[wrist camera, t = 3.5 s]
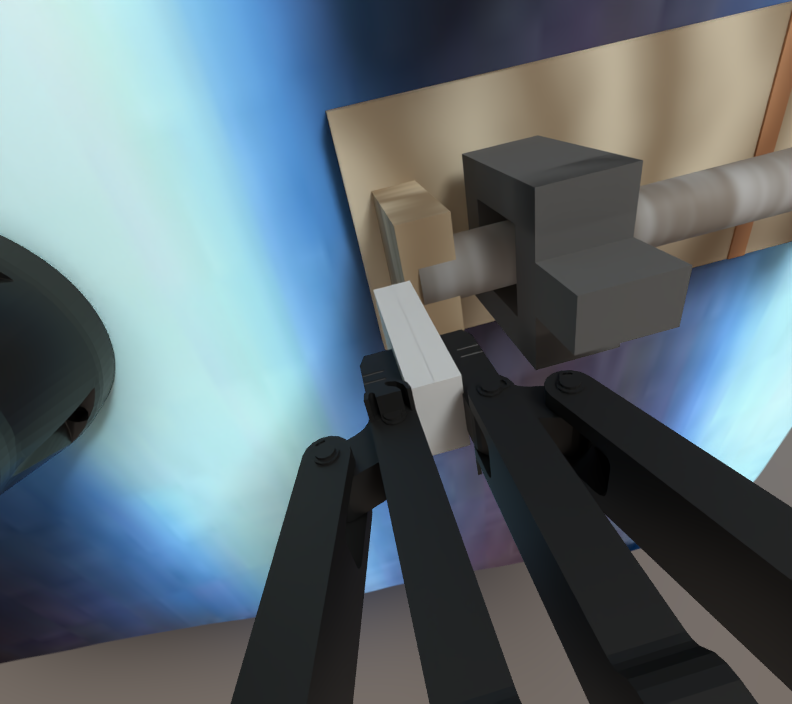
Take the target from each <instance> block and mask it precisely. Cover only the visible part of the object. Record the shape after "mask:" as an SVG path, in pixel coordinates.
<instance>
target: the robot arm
mask: <svg viewBox="0 0 792 704" xmlns="http://www.w3.org/2000/svg"><path fill="white" fill-rule="evenodd" d="M373 291H374V295H375V299H376V304H377V308H378V312H379V316H380V320H381V324H382V328H383V332H384V337H385V341H386V345H387V348H388V350H386V351H382V352H378V353H375V354H371V355H367V356H364V358H363V360H362V363H361V365H360V368H361V373H362V378H363V383H364V387H365V392H366V393H365V394H364V403H365V406H366V409H367V413H368V416H369V422H368V424H367V425H366V427H365V428H364V429H363V430H362V431H361V432H360V433H358V434H357V435H355V436H354V437H352V438H350V439H348V440H346V439H344V438H341V437H339V436H328V437H324V438H321V439H319V440H317V441H315V442H314V443H312V444H311V445H310V446H309V447H308V448H307V449H306V451H305V453H304V455H303V456H302V460H301V463H300V467H299V470H298V474H297V477H296V480H295V484H294V487H293V491H292V494H291V498H290V501H289V505H288V508H287V511H286V515H285V518H284V522H283V525H282V529H281V532H280V536H279V539H278V542H277V546H276V549H275V553H274V556H273V560H272V563H271V567H270V570H269V573H268V577H267V580H266V584H265V587H264V591H263V594H262V598H261V601H260V605H259V608H258V611H257V615H256V618H255V622H254V625H253V629H252V632H251V636H250V639H249V643H248V646H247V649H246V653H245V657H244V660H243V663H242V667H241V670H240V673H239V677H238V681H237V684H236V687H235V691H234V694H233V698H232V701H231V704H353V696H354V687H355V677H356V667H357V658H358V648H359V638H360V629H361V619H362V608H363V599H364V590H365V580H366V570H367V561H368V551H369V541H370V532H371V522H372V509H373V508H374V507H376V506H377V505H379V504H381V503H382V502H384V501H385V500H387V503H388V508H389V513H390V518H391V522H392V527H393V532H394V537H395V541H396V546H397V551H398V556H399V560H400V565H401V570H402V575H403V579H404V584H405V588H406V594H407V598H408V603H409V608H410V613H411V617H412V622H413V627H414V632H415V637H416V641H417V646H418V651H419V655H420V660H421V665H422V670H423V675H424V679H425V684H426V689H427V693H428V698H429V703H430V704H522V703H521V701H520V699H519V696H518V694H517V691H516V689H515V686H514V683H513V680H512V678H511V675H510V672H509V669H508V666H507V664H506V661H505V658H504V655H503V652H502V649H501V647H500V644H499V641H498V638H497V635H496V633H495V630H494V627H493V624H492V622H491V619H490V616H489V613H488V610H487V607H486V605H485V602H484V599H483V597H482V593H481V591H480V588H479V585H478V582H477V580H476V577H475V574H474V571H473V568H472V565H471V562H470V560H469V557H468V554H467V551H466V548H465V546H464V543H463V540H462V537H461V534H460V532H459V529H458V526H457V523H456V520H455V518H454V515H453V512H452V509H451V506H450V504H449V501H448V498H447V495H446V492H445V490H444V487H443V484H442V481H441V478H440V475H439V473H438V470H437V467H436V464H435V461H434V459H433V455H436V454H440V453H443V452H447V451H450V450H454V449H457V448H461V447H464V446H468V445H470V438H469V435H470V437H471V439H472V441H473V443H474V447H475V455H476V463H477V471H478V475H480V474H482V472H483V474H484V476H485V478H486V480H487V482H488V485H489V487H490V489H491V491H492V493H493V495H494V498H495V500H496V502H497V504H498V506H499V508H500V511H501V513H502V515H503V517H504V519H505V521H506V524H507V526H508V528H509V530H510V532H511V534H512V537H513V539H514V541H515V543H516V545H517V547H518V550H519V552H520V554H521V556H522V558H523V560H524V563H525V565H526V567H527V569H528V571H529V573H530V576H531V578H532V580H533V582H534V584H535V586H536V588H537V591H538V593H539V595H540V597H541V600H542V601H543V604H544V606H545V608H546V610H547V613H548V615H549V617H550V619H551V621H552V623H553V626H554V628H555V630H556V632H557V634H558V636H559V638H560V640H561V643H562V645H563V647H564V649H565V652H566V654H567V656H568V658H569V660H570V662H571V664H572V666H573V669H574V671H575V673H576V675H577V677H578V680H579V682H580V684H581V686H582V688H583V691H584V693H585V695H586V697H587V699H588V701H589V703H590V704H758V703H757V702H756V700H755V699H754V697H753V696H752V695H751V693H750V692H749V690H748V689H747V688H746V687H745V685H744V684H743V682H742V681H741V680H740V678H739V677H738V676H737V675H736V674H735V672H734V671H733V670H732V669H731V667H730V666H729V665H728V664H727V663H726V662H725V661H724V660H723V659H722V658H721V657H719V656H718V655H717V654H716V653H715V652H713V651H710V650H708V649H706V648H704V647H701V646H699V645H698V644H697V643H696V642H695V641H694V640H693V639H692V638H691V637H690V636H689V634H688V633H687V632H686V630H685V629H684V628H683V626H682V625H681V623H680V622H679V621H678V619H677V617H676V616H675V615H674V613H673V612H672V610H671V609H670V607H669V606H668V605H667V603H666V602H665V600H664V599H663V597H662V596H661V595H660V593H659V592H658V590H657V589H656V587H655V586H654V584H653V583H652V582H651V580H650V579H649V577H648V576H647V574H646V573H645V572H644V570H643V569H642V567H641V566H640V565H639V563H638V561H637V560H636V559H635V557H634V556H633V554H632V553H631V551H630V550H629V549H628V547H627V546H626V544H625V543H624V541H623V540H622V539H621V537H620V536H619V534H618V533H617V531H616V530H615V528H614V527H613V526H612V524H611V523H610V521H609V520H608V518H607V517H606V516H605V515H607V516H608V517H609V518H610V519H611V520H612V521H613V522H614V523H615V524H616V525H617V526H618V527H619V528H620V529H621V530H622V531H623V532H624V533H626V534H627V535H628V536H629V537H630V538H631V539H632V540H633V541H634V542H635V543H636V544H637V545H638V546H639V547H640V548H641V549H642V550H644V551H645V552H646V553H647V554H648V555H649V556H650V557H651V558H652V559H653V560H654V561H655V562H656V563H657V564H658V565H659V566H660V567H662V568H663V569H664V570H665V571H666V572H667V573H668V574H669V575H670V576H671V577H672V578H673V579H674V580H675V581H677V583H678V584H679V585H680V586H682V587H683V588H684V589H685V590H686V591H687V592H688V593H689V594H690V595H691V596H692V597H693V598H694V599H695V600H696V601H697V602H698V603H699V604H701V605H702V606H703V607H704V608H705V609H706V610H707V611H708V612H709V613H710V614H711V615H712V616H713V617H714V618H715V619H717V621H719V622H720V623H721V624H722V625H723V626H724V627H725V628H726V629H727V630H728V631H729V632H730V633H731V634H732V635H733V636H734V637H735V638H737V640H739V641H740V642H741V643H742V644H743V645H744V646H745V647H746V648H747V649H748V650H749V651H750V652H751V653H752V654H753V655H754V656H755V657H757V658H758V659H759V660H760V661H761V662H762V663H763V664H764V665H765V666H766V667H767V668H768V669H769V670H770V671H771V672H772V673H773V674H774V675H775V676H777V677H778V678H779V679H780V680H781V681H782V682H783V683H784V684H785V685H786V686H787V687H788V688H789V689H790V690H791V691H792V507H790V506H789V505H787V504H786V503H784V502H782V501H781V500H779V499H778V498H776V497H775V496H773V495H772V494H770V493H769V492H767V491H766V490H764V489H763V488H761V487H759V486H758V485H756V484H755V483H753V482H752V481H750V480H749V479H747V478H746V477H744V476H743V475H741V474H739V473H738V472H736V471H735V470H733V469H732V468H730V467H729V466H727V465H726V464H724V463H722V462H721V461H719V460H718V459H716V458H715V457H713V456H712V455H710V454H709V453H707V452H706V451H704V450H702V449H701V448H699V447H698V446H696V445H695V444H693V443H692V442H690V441H689V440H687V439H686V438H684V437H682V436H681V435H679V434H678V433H676V432H675V431H673V430H672V429H670V428H669V427H667V426H665V425H664V424H662V423H661V422H659V421H658V420H656V419H655V418H653V417H652V416H650V415H649V414H647V413H645V412H644V411H642V410H641V409H639V408H638V407H636V406H635V405H633V404H632V403H630V402H629V401H627V400H625V399H624V398H622V397H621V396H619V395H618V394H616V393H615V392H613V391H612V390H610V389H609V388H607V387H605V386H604V385H602V384H601V383H599V382H598V381H596V380H595V379H593V378H592V377H590V376H588V375H586V374H584V373H582V372H578V371H572V370H567V371H559V372H556V373H553V374H551V375H550V376H549V377H547V379H546V381H545V383H544V386H533V387H524V386H517V385H514V383H513V382H512V381H510V380H509V379H508V378H506V377H503V376H501V375H499V374H498V373H497V371H496V370H495V368H494V367H493V365H492V364H491V363H490V361H489V360H488V358H487V357H486V355H485V354H484V352H482V349H481V348H480V346H479V345H478V343H477V342H476V340H475V339H474V337H473V336H472V335H471V334H469V333H467V332H465V331H464V330H462V329H461V330H457V331H453V332H449V333H446V334H442V335H439V333H438V332H437V330H436V328H435V326H434V324H433V322H432V321H431V319H430V317H429V315H428V313H427V311H426V310H425V308H424V306H423V304H422V302H421V300H420V299H419V297H418V295H417V293H416V291H415V289H414V288H413V286H412V284H411V282H410V281H406V282H402V283H398V284H394V285H390V286H387V287H383V288H379V289H375V290H373ZM113 378H114V355H113V349H112V345H111V342H110V339H109V336H108V334H107V331H106V329H105V327H104V325H103V323H102V321H101V319H100V318H99V316H98V314H97V313H96V311H95V310H94V309H93V307H92V306H91V304H90V303H89V302H88V301H87V299H86V298H85V297H84V296H83V294H82V293H81V292H80V291H79V290H78V289H77V288H76V287H75V286H74V285H73V284H72V283H71V282H70V281H69V280H68V279H67V278H66V277H64V276H63V275H62V274H61V273H60V272H59V271H57V270H56V269H55V268H54V267H52V266H51V265H50V264H48V263H47V262H46V261H44V260H43V259H41V258H40V257H38V256H37V255H35V254H34V253H32V252H30V251H29V250H27V249H26V248H24V247H22V246H20V245H19V244H17V243H15V242H13V241H11V240H9V239H7V238H5V237H3V236H1V235H0V495H1V494H2V493H4V492H5V491H7V490H8V489H9V488H11V487H12V486H13V485H15V484H16V483H18V482H19V481H20V480H22V479H23V478H24V477H26V476H27V475H29V474H30V473H31V472H33V471H34V470H35V469H37V468H38V467H40V466H41V465H42V464H44V463H45V462H47V461H48V460H49V459H51V458H52V457H53V456H55V455H56V454H58V453H59V452H60V451H62V450H63V449H64V448H66V447H67V446H69V445H70V444H71V443H73V442H74V441H75V440H76V439H77V438H78V437H79V436H80V435H81V434H82V433H83V432H84V431H85V430H86V429H87V428H88V427H89V425H90V424H91V422H92V421H93V420H94V418H95V416H96V415H97V413H98V411H99V410H100V408H101V406H102V405H103V403H104V401H105V400H106V398H107V396H108V394H109V392H110V389H111V386H112V383H113ZM481 469H482V471H481Z"/></svg>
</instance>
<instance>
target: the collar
mask: <svg viewBox="0 0 792 704" xmlns="http://www.w3.org/2000/svg"><path fill="white" fill-rule="evenodd" d="M462 162H463V172H464V183H465V193H466V204H467V214H468V225H469V230H470V229H474V228H478V227H482V226H486V225H490V224H494V223H497V222H501V221H505V220H510V221H511V222H513V223H514V224H515V247H516V278H517V284H514V285H510V286H507V287H503V288H499V289H495V290H491V291H488V292H484V293H480V294H476V295H475V296H476V297H477V298H478V299H479V301H480V302H481V303H482V304H483V306H484V307H485V308H486V309H487V311H488V312H489V313H490V314H491V315H492V317H493V318H494V319H495V320H496V322H497V323H498V324H499V325H500V327H501V328H502V329H503V330H504V331H505V333H506V334H507V335H508V336H509V338H510V339H511V340H512V341H513V343H514V344H515V345H516V346H517V347H518V349H519V350H520V351H521V352H522V354H523V355H524V356H525V357H526V359H527V360H528V361H529V362H530V363H531V365H532V366H533V367H534V368H535V370H538V369H541V368H545V367H549V366H552V365H556V364H560V363H563V362H567V361H570V360H574V359H578V358H581V357H585V356H589V355H592V354H596V353H599V352H603V351H607V350H610V349H614V348H618V347H619V346H620V343H622V342H626V341H629V340H633V339H637V338H640V337H644V336H648V335H651V334H655V333H658V332H662V331H666V330H669V329H673V328H677V327H679V326H680V321H681V317H682V312H683V307H684V303H685V298H686V294H687V289H688V284H689V280H690V275H691V271H692V266H693V265H691V264H689V263H687V262H685V261H683V260H681V259H679V258H677V257H674V256H672V255H670V254H668V253H666V252H664V251H662V250H660V249H658V248H655V247H653V246H651V245H649V244H647V243H645V242H643V241H641V240H639V239H636V238H634V229H635V221H636V214H637V206H638V198H639V190H640V183H641V175H642V167H643V160H640V159H636V158H631V157H627V156H623V155H619V154H615V153H610V152H606V151H602V150H598V149H594V148H589V147H585V146H581V145H577V144H572V143H568V142H564V141H560V140H556V139H551V138H547V137H543V136H539V135H537V136H533V137H529V138H524V139H520V140H516V141H512V142H508V143H504V144H500V145H496V146H492V147H488V148H484V149H480V150H476V151H471V152H467V153H463V154H462Z"/></svg>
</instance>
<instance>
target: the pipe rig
mask: <svg viewBox="0 0 792 704" xmlns="http://www.w3.org/2000/svg"><path fill="white" fill-rule="evenodd" d="M326 115H327V119H328V123H329V127H330V131H331V135H332V139H333V143H334V147H335V151H336V155H337V159H338V163H339V167H340V171H341V176H342V180H343V184H344V188H345V192H346V196H347V200H348V204H349V208H350V212H351V216H352V220H353V224H354V228H355V232H356V236H357V240H358V244H359V248H360V252H361V256H362V260H363V264H364V268H365V272H366V276H367V280H368V284H369V289H370V293H371V297H372V301H373V305H374V309H375V313H376V317H377V321H378V325H379V329H380V333H381V337H382V341H383V344H384V347H385V350H388V348H387V345H386V341H385V337H384V332H383V328H382V324H381V320H380V316H379V312H378V308H377V304H376V299H375V295H374V291H373V290H375V289H379V288H383V287H387V286H390V285H394V284H398V283H402V282H406V281H410V282H411V284H412V286H413V288H414V289H415V291H416V293H417V295H418V297H419V299H420V300H421V302H422V304H423V306H424V308H425V310H426V311H427V313H428V315H429V317H430V319H431V321H432V322H433V324H434V326H435V328H436V330H437V332H438V333H439V335H442V334H446V333H449V332H453V331H457V330H461V329H462V330H464V329H466V328H470V327H474V326H477V325H481V324H485V323H488V322H492V321H496V320H495V319H494V318H493V317H492V315H491V314H490V313H489V312H488V311H487V309H486V308H485V307H484V306H483V304H482V303H481V302H480V301H479V299H478V298H477V297H476V296H475V295H476V294H480V293H484V292H488V291H491V290H495V289H499V288H503V287H507V286H510V285H514V284H517V278H516V247H515V224H514V223H513V222H511V221H510V220H505V221H501V222H497V223H494V224H490V225H486V226H482V227H478V228H474V229H470V230H469V225H468V214H467V204H466V193H465V183H464V172H463V162H462V154H463V153H467V152H471V151H476V150H480V149H484V148H488V147H492V146H496V145H500V144H504V143H508V142H512V141H516V140H520V139H524V138H529V137H533V136H537V135H539V136H543V137H547V138H551V139H556V140H560V141H564V142H568V143H572V144H577V145H581V146H585V147H589V148H594V149H598V150H602V151H606V152H610V153H615V154H619V155H623V156H627V157H631V158H636V159H640V160H643V167H642V175H641V183H640V190H639V198H638V206H637V214H636V221H635V229H634V238H636V239H639V240H641V241H643V242H645V243H647V244H649V245H651V246H653V247H655V248H658V249H660V250H662V251H664V252H666V253H668V254H670V255H672V256H674V257H677V258H679V259H681V260H683V261H685V262H687V263H689V264H691V265H693V266H692V268H694V267H697V266H701V265H705V264H709V263H712V262H716V261H720V260H724V259H731V258H735V257H738V256H742V255H744V254H746V253H750V252H753V251H757V250H761V249H765V248H768V247H772V246H776V245H780V244H783V243H787V242H791V241H792V1H790V2H786V3H781V4H777V5H773V6H769V7H764V8H760V9H756V10H752V11H747V12H743V13H739V14H735V15H730V16H726V17H722V18H718V19H713V20H709V21H705V22H701V23H696V24H692V25H688V26H684V27H679V28H675V29H671V30H667V31H662V32H658V33H654V34H650V35H645V36H641V37H637V38H633V39H628V40H624V41H620V42H616V43H611V44H607V45H603V46H599V47H594V48H590V49H586V50H582V51H577V52H573V53H569V54H565V55H560V56H556V57H552V58H548V59H543V60H539V61H535V62H531V63H526V64H522V65H518V66H514V67H509V68H505V69H501V70H497V71H492V72H488V73H484V74H480V75H475V76H471V77H467V78H463V79H458V80H454V81H450V82H446V83H441V84H437V85H433V86H429V87H424V88H420V89H416V90H412V91H407V92H403V93H399V94H395V95H390V96H386V97H382V98H378V99H373V100H369V101H365V102H361V103H356V104H352V105H348V106H344V107H339V108H335V109H331V110H327V111H326Z"/></svg>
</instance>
